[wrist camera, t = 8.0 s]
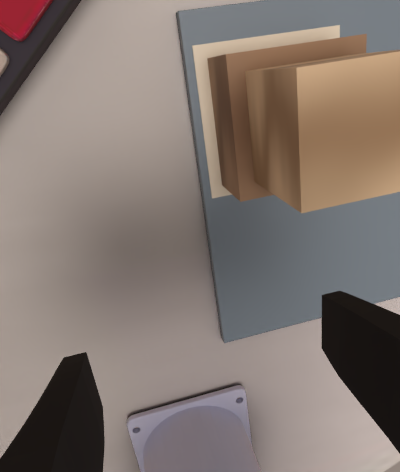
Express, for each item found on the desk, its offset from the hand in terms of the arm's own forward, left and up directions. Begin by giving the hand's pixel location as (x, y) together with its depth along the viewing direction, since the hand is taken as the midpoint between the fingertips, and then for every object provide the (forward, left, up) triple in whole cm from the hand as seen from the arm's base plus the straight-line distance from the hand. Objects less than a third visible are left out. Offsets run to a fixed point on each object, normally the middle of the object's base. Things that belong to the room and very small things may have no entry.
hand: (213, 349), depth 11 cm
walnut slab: (+5, -6, -10) cm, 13 cm away
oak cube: (+5, -6, -7) cm, 10 cm away
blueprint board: (+1, -10, -10) cm, 14 cm away
